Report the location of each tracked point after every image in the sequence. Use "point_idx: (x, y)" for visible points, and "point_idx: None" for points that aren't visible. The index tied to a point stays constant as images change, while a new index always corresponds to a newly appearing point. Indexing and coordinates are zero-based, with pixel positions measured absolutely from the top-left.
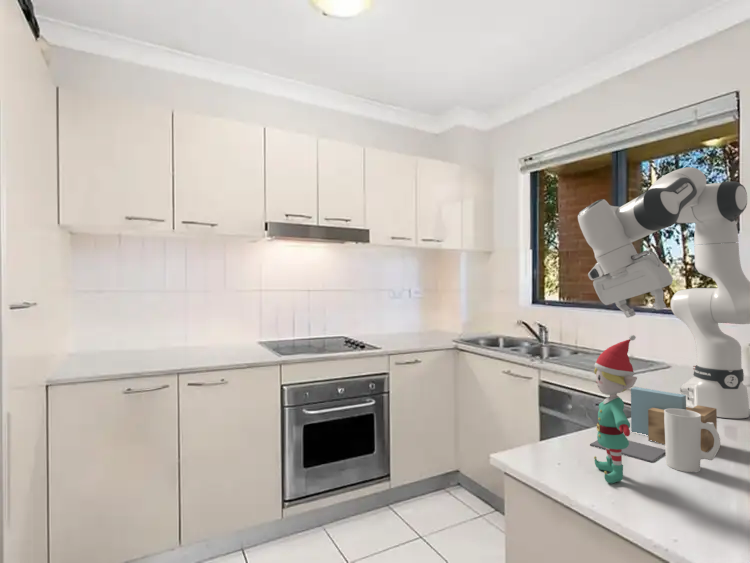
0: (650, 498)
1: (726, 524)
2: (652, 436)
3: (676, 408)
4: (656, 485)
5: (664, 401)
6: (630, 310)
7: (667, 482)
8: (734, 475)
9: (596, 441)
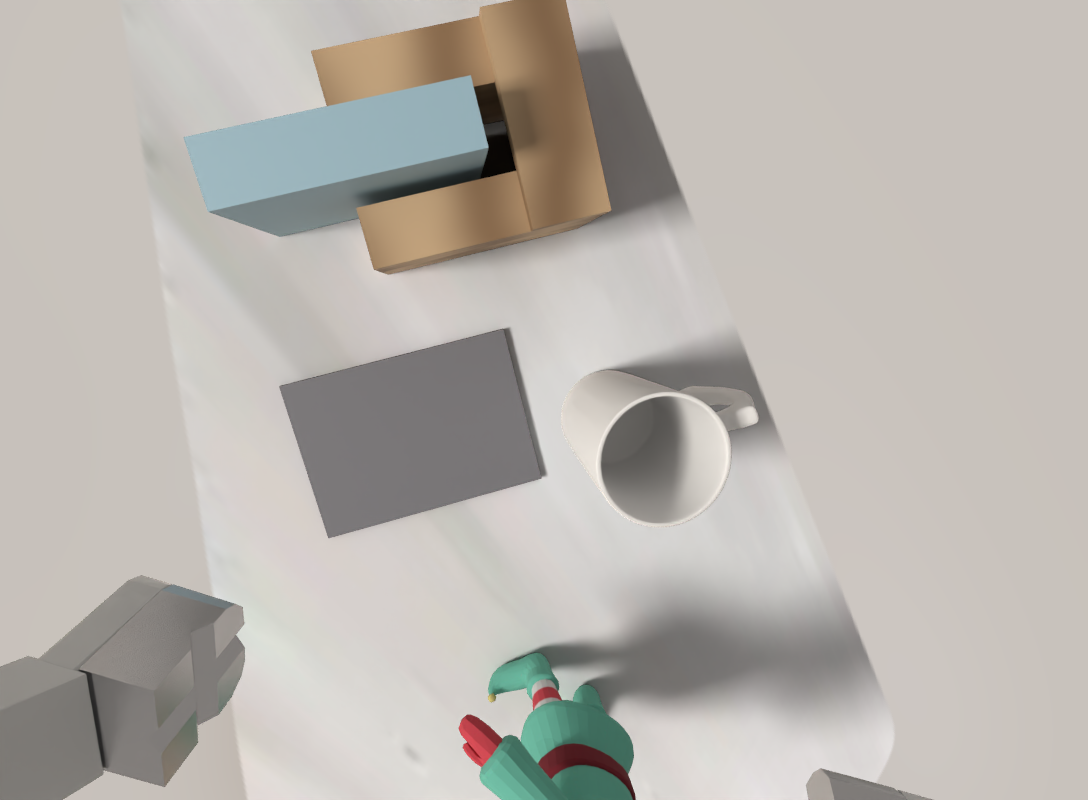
0: (685, 695)
1: (834, 650)
2: (401, 270)
3: (460, 168)
4: (648, 615)
5: (403, 176)
6: (166, 719)
7: (651, 569)
8: (717, 338)
9: (318, 493)
